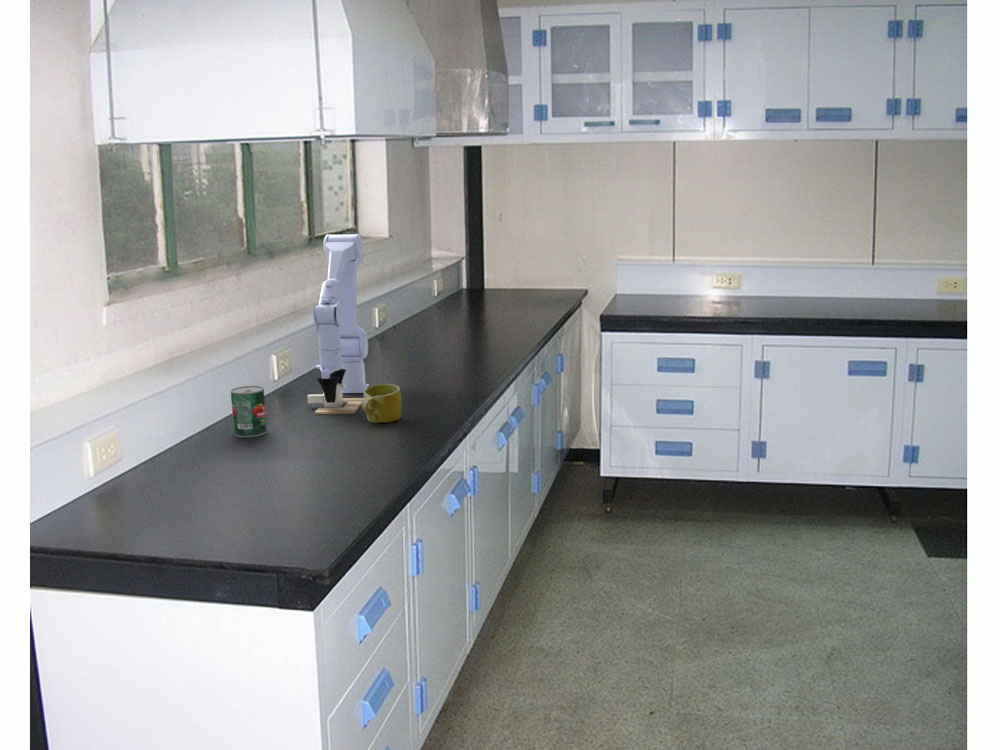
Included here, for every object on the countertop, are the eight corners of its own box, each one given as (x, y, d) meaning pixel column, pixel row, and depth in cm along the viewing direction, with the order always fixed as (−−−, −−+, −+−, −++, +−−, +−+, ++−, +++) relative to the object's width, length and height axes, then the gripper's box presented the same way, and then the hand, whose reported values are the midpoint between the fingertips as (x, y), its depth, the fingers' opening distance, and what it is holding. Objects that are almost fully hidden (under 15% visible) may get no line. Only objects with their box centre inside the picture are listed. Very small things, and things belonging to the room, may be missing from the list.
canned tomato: (232, 431, 254) (228, 387, 252) (264, 427, 257) (261, 384, 254) (236, 439, 247) (232, 394, 244) (269, 435, 249) (266, 390, 247)
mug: (382, 404, 269) (383, 372, 263) (410, 421, 263) (411, 388, 258) (346, 422, 261) (347, 389, 255) (374, 440, 255) (375, 407, 250)
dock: (327, 400, 282) (327, 398, 282) (364, 400, 282) (364, 398, 281) (314, 414, 268) (314, 411, 268) (354, 413, 268) (354, 411, 267)
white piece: (347, 404, 277) (346, 382, 276) (344, 409, 272) (343, 387, 271) (310, 405, 278) (309, 383, 276) (306, 410, 273) (305, 387, 272)
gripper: (321, 344, 279) (324, 393, 282) (308, 354, 265) (312, 406, 268) (347, 343, 279) (350, 392, 281) (335, 354, 264) (338, 405, 267)
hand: (333, 399), depth 275 cm, fingers open, 6 cm apart
